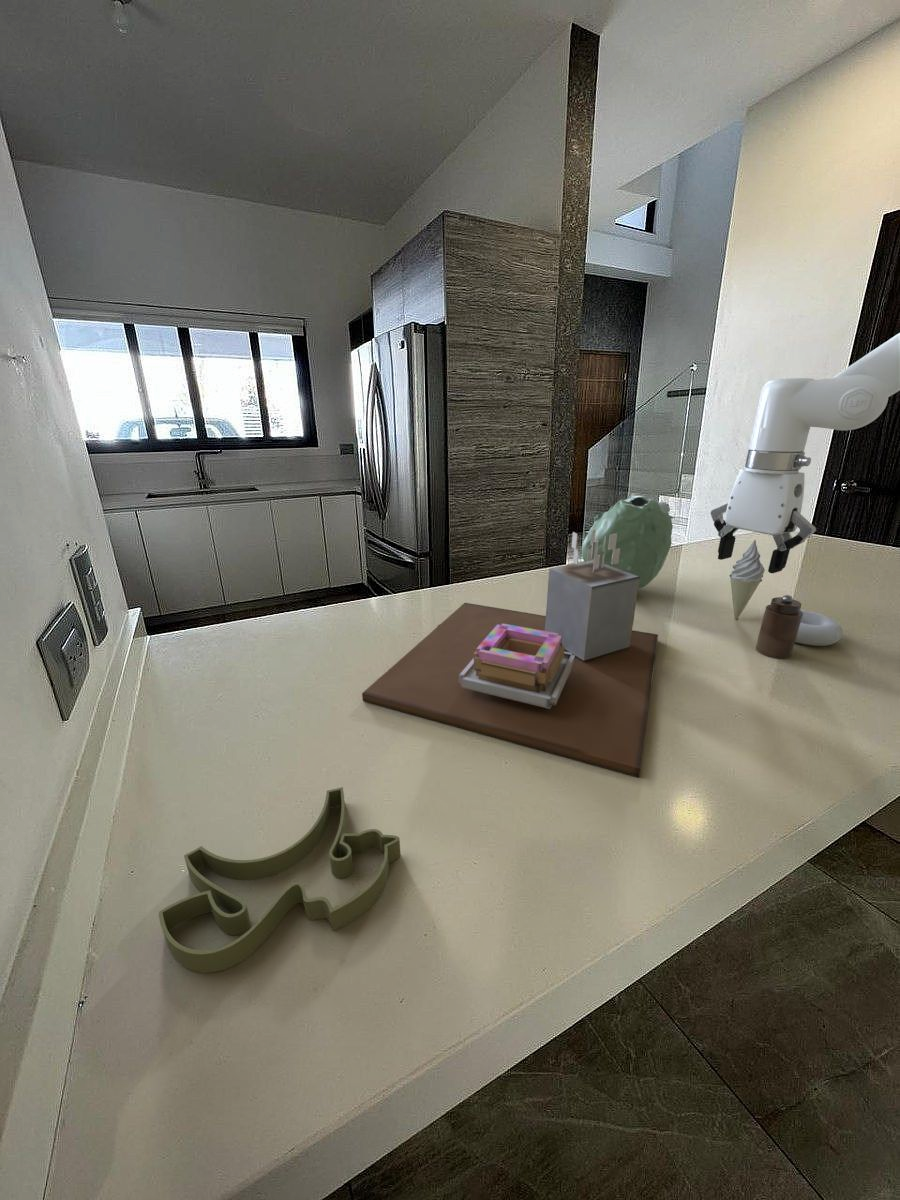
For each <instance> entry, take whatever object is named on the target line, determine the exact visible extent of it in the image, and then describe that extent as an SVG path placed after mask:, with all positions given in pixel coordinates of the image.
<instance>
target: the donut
mask: <svg viewBox="0 0 900 1200" xmlns="http://www.w3.org/2000/svg"><path fill="white" fill-rule="evenodd" d="M800 611H802V612H803V616H802V620H801V623H800V626H799V630H798V633H797V637H796V640H795V643H797V644H801V645H805V646H812V647H815V646H816V647H825V646H831V645H834V644H836V643H838V642H839V641H840V640H841V639H842V637H843V634H844V633H843V632H844V630H843V628H842V626H841V624H839V623H838V621H836V620H835V619H833V618H832V617H829V616H827V615H825V614H822V613H819V612H814V611H809V610H806V609H805V610H803V609H800Z"/></svg>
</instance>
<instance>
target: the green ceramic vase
mask: <svg viewBox="0 0 900 1200" xmlns="http://www.w3.org/2000/svg"><path fill="white" fill-rule="evenodd" d="M670 511H671V507H670V504H668V503H667V502H665V501H658V500H656V499H655V498H650V497H648V496H644V494H643V493H640V492H633V493H632V494H631V496H630V497H628V498H625V499H622V498H621V499H620V500H618V501H617V502H616V503H615V504H614V505H610V508H609V510H608V511H601V515H600V514H597V515H596V516H594V518H593V525H592V526H591V527H590V529H589V531H588V532H587V535H586V536H585V538H584V540H583V542H582V544H581V545H582V546H581V558H582V560H583V562H586V560H587V550H588V546H590V544H591V535H592V530H594V529H596V533H595V541H599V543H598V552H597V556H598V555H600V561H599V562H602V559H603V554H602V552H603V544H604V538H605V537H606V542H605V557H604V563H605V564H608V565H610V566H613V567H616V568H619V569H621V570H624V571H627V572H630V573H633V574H635V575H638V576H640V580H639V586H638V590H639V589H641V588H644V587H646V586H647V585H649V583H651V582H652V581H653V580H654V579H655V578H656V577H657V576H658V575H659V573H660V571H661V570H662V568H663V566H664V564H665V562H666V560H667V557H668V555H669V553H670V551H671V547H672V542H673V541H672V533H673V529H674V528H673V521H672V519H675V517H674V516H671V515H670V514H669V513H670ZM610 534H617V539H616V547H615V549H620V555H619V562H618V564H611V562H612V554H613V550H608V546H609V538H610ZM592 546H593V545H592ZM591 555H592V549H591ZM591 560H594V558H590V560H589V561H591Z"/></svg>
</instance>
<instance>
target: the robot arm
mask: <svg viewBox="0 0 900 1200" xmlns="http://www.w3.org/2000/svg"><path fill="white" fill-rule="evenodd" d="M899 391H900V332H899V333H897V334H895V335H894V336H893V337H891V338H889V339H888V340H887V341H885V342H883V343H882V344H880V345H879V346H878V347H876V348H875V349H872V350H871V351H869V352H868V353H867V354H865V355H864V356H862V357H861V358H859V359H858V360H856V361H855V362H853V363H852V364H850V365H849V366H847V367H846V368H845V369H844V370H842V371H840V372H839V373H838V374H836V375H834V376H833V377H831V378H823V379H822V378H821V379H814V378H809V377H791V378H776V379H771V380H769V381H767V382H766V383H765V384H764V385H763V387H762V389H761V391H760V395H759V400H758V404H757V409H756V413H755V417H754V424H753V427H752V431H751V436H750V441H749V446H748V451H747V454H746V455H747V456H746V461H745V465H744V468H741V469H740V470H739V472H738V473H737V477H736V479H735V481H734V483H733V486H732V489H731V492H730V495H729V499H728V502H727V503H725V504H723V505H720V506H718V507H716V508H713V509H712V510H711V511H710V516H711V519H712V521H713V526H714V528H715V529H716V531H717V536H718V537H719V538H720V539H719V544H718V549H717V553H718V555H717V559H718V560H720V561H723V560H726V559H727V560H728V559H731V558H732V556H733V552H734V549H735V548H734V547H735V543H736V539H737V538H736V535H734V534H735V533H737V531H738V530H743V531H747V532H753V533H758V534H762V535H768V536H772V538H773V540H774V543H775V546H776V549H773V550H772V552H771V558H770V561H769V565H768V569H767V572H768V573H770V574H776V573H779V572H782V571H783V570H784V569H785V568H786V566H787V563H788V558H789V555H790V551H791V550H793V549H794V548H795V547H797V546H798V545H800V544H802V543H804V542H805V541H806V540H807V539H808V538H810V537H811V536H812V535H813V534H814V533H815V532H816V531H817V527H816V526H815V525H814V524H812V523H811V522H810V521H809V520H808V519H806V517H805V516H803V515H802V509H803V502H804V494H805V472H802V471H801V472H800V470H801V469H802V467H809V466H810V465H811V462H812V458H811V457H809V456H807V457H806V456H805V455H806V452H805V448H806V445H807V442H808V437H809V434H810V430H811V428H820V429H829V430H835V431H853V430H858V429H860V428H863V427H866V426H867V425H869V424H871V423H872V422H874V421H876V420H877V418H879V417H880V416H881V415H882V413H883V412H884V410H885V409H886V407H887V405H888V401H889V397H892V396H893V395H895V394H896V393H898V392H899ZM724 514H725V515H724ZM723 515H724V516H725V517H724V516H723ZM797 528H798V529H799V532H798V533H797V534H796V535H795V536H793V537H792V534H791V533H793V532H795V531H796V530H797Z"/></svg>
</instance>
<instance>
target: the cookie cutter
mask: <svg viewBox="0 0 900 1200" xmlns="http://www.w3.org/2000/svg"><path fill="white" fill-rule="evenodd" d="M344 792H345V791H344V787H342V786H341V787H337V788H332V789H328V790H326V793H325V794H326V795H325V799H324V804H323V807H322V810H321V812H320V814H319V816H318V818H317V819H316V821H315V823H314V824H313V826H312V827H311V828H310V829H309V830H308V831H307V832H306V833H305V834H304V835H303V836H302V837H301V838H300V839H298V840H297V842H295V843H293V844H292V845H290V846H289V847H287V848H285V849H283V850H280V851H279V852H277V853H274V854H271V855H267V856H264V857H261V858H256V859H233V858H227V857H223V856H220V855H217V854H215V853H213V852H211V851H209V850H207V848H205V847H203V846H199V847H197V848H195V849H193V850H192V851H189V852H188V853H186V854H184V855H183V858H184V862H185V866H186V869H187V871H188V875H189V878H190V880H191V882H192V883H193V885H194V887H195V888H196V889H197V890H198V891H199V893H195V894H192V895H189V896H187V897H184V898H182V899H180V900H178V901H175V902H173V903H171V904H169V905H167V906H165V907H164V908H163V909H161V910H159V911H158V919H159V924H160V927H161V930H162V933H163V936H164V939H165V941H166V945H167V947H168V950H169V951H170V954H171V956H172V957H173V958H174V959H175V960H176V961H177V963H179V964H180V965H181V966H182V967H184V968H185V969H188V970H190V971H192V972H196V973H201V974H211V973H218V972H222V971H225V970H228V969H230V968H232V967H235V966H237V965H239V964H240V963H242V962H243V961H245V960H246V959H247V958H249V957H250V956H251V955H252V954H253V953H254V952H256V950H257V949H259V948H260V946H261V945H262V944H263V943H264V942H265V941H266V940H267V938H268V937H269V936H270V935H271V934H272V933H273V931H274V930H275V929H276V928H277V926H278V925H279V924H280V922H281V921H282V920H283V918H284V917H285V916H286V915H287V914H288V912H289V911H290V910H291V909H292V908H293V907H294V906H295V905H297V904H299V903H301V904H302V905H303V907H304V912H305V917H306V919H307V920H310V921H314V920H320V919H326V920H327V921H328V922H329V923H330V925H331V929H332V931H335V930H338V929H340V928H342V927H344V926H345V925H347V924H349V923H351V922H352V921H354V920H356V919H357V918H359V917H360V916H361V915H363V914H364V913H366V911H367V910H368V909H370V908H371V907H372V906H373V904H375V902H376V901H377V900H378V899H379V898H380V896H381V895H382V894H383V892H384V891H385V890H384V889H385V887H386V886H387V882H388V878H389V874H390V873H389V872H390V863H392V862H395V861H396V860H398V859H399V858H400V857H401V842H400V841H401V839H400V837H399V836H397V835H393V834H383V833H382V832H381V830H379V829H377V828H370V829H366V830H363V831H361V832H357V833H356V832H355V833H354V832H353V833H352V832H351V833H350V832H349V833H347V810H346V802H345V801H346V800H345V794H344ZM340 806H341V807H340ZM335 807H340V808H341V809H340V810H341V811H340V819H339V820H340V821H339V825H338V829H337V832H336V836H335V838H334V841H333V843H332V845H331V847H330V849H329V851H328V855H329V856H328V857H329V863H330V870H331V874H332V876H334V877H335V878H337V879H342V878H343V879H344V878H347V877H349V876H350V875H351V874H352V873H353V871H354V863H353V862H354V861H353V854H352V853H363V852H365V851H368V850H370V849H377V850H379V851H380V852H381V854H382V855H383V861H382V864H381V867H380V869H379V870H378V872H377V874H376V875H375V877H374V878H373V879H372V880H371V882H369V884H367V886H366V887H365V888H363V889H362V890H361V891H360V892H358V893H357V894H356V895H354V896H352V897H351V898H349V899H348V900H345V901H344V902H342V903H340V904H339V905H337V906H335V907H333V904H332V903H331V902H330V900H329V899H328V898H326V897H324V896H318V897H312V898H308V896H307V895H308V894H307V890H306V887H305V885H304V884H303V882H301V881H295V882H292V883H291V884H289V885H287V887H285V888H284V889H283V891H281V893H280V894H279V895H278V897H276V898H275V900H274V901H273V902H272V904H271V905H270V906H269V907H268V908H267V910H266V911H265V912H264V913H263V914H262V915H261V917H259V919H258V920H257V921H256V922H255V923H254V924H253V925H252V923H251V917H250V914H249V911H248V906H247V903H246V902H245V900H243V899H242V898H241V897H239V896H238V895H235V894H233V893H232V892H229V891H228V890H226V889H224V888H222V887H221V886H218V885H217V884H215V883H214V882H212V881H211V880H209V879H208V878H207V877H205V876H204V875H203V874H202V873H200V872H199V870H200V869H202V868H206V869H208V870H209V871H211V872H213V873H214V874H216V875H219V876H221V877H224V878H227V879H232V880H236V881H237V880H238V881H256V880H261V879H266V878H271V877H273V876H276V875H279V874H281V873H283V872H286V871H288V870H289V869H292V868H293V867H294V866H296V865H297V864H299V863H300V862H302V861H303V860H304V859H305V858H307V857H308V855H310V854H311V852H312V851H313V850H314V849H315V848H316V847H317V845H318V844H319V843H320V841H321V840H322V838H323V836H324V834H325V832H326V830H327V828H328V826H329V822H330V819H331V814H332V813H331V812H332V808H335ZM218 906H219V907H220V908H222V909H224V910H225V911H227V912H229V913H227V912H224V911H223V910H222V909H220V908H219V907H218ZM208 913H212V915H213V918H214V922H216V924H217V926H218V928H219V929H220V930H221V931H222V932H224V933H225V934H226V935H229V936H239V937H237V939H235V940H233V941H231V942H229V943H228V944H225V945H223V946H220V947H217V948H212V949H202V950H201V949H199V950H198V949H192V948H189V947H186V946H184V945H182V944H180V943H179V942H178V941H176V939H174V938H173V936H172V934H170V930H173V929H174V928H175V927H177V926H179V925H181V924H183V923H185V922H187V921H189V920H191V919H194V918H196V917H199V916H201V915H205V914H208ZM240 935H241V936H240Z"/></svg>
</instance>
